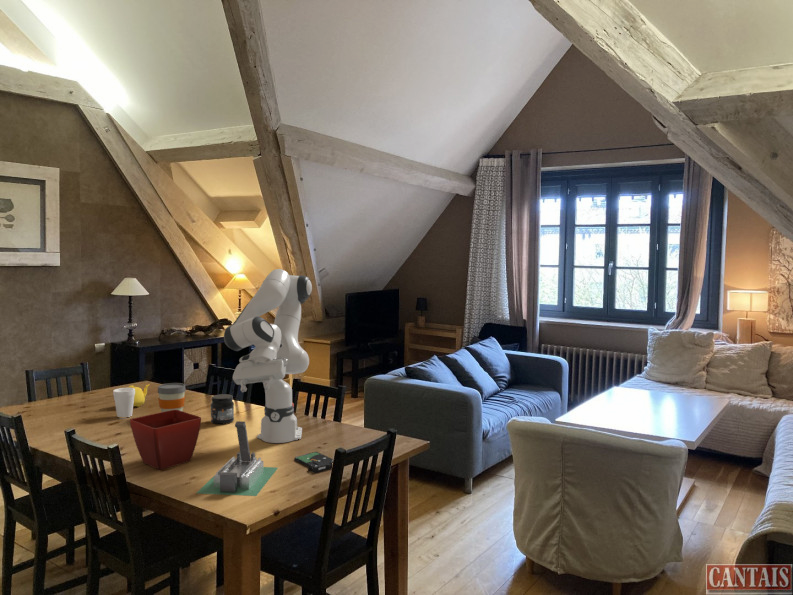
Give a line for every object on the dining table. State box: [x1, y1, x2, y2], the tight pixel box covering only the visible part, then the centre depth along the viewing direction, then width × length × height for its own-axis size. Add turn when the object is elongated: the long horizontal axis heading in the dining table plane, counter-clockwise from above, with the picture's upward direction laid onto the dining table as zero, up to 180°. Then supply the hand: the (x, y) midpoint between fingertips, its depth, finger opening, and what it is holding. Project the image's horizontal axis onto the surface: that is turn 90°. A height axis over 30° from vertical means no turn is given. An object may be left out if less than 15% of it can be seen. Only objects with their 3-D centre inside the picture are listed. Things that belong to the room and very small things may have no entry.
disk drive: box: [293, 451, 334, 474], centre depth 227 cm, size 10×3×15 cm
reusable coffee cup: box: [157, 382, 186, 413], centre depth 291 cm, size 13×13×15 cm
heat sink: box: [213, 451, 264, 493], centre depth 207 cm, size 20×12×7 cm, turn 175°
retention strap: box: [234, 420, 251, 461], centre depth 212 cm, size 17×3×2 cm
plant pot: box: [129, 410, 202, 470], centre depth 228 cm, size 19×19×17 cm
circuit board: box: [195, 466, 279, 497], centre depth 209 cm, size 26×20×1 cm
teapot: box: [128, 383, 151, 408], centre depth 309 cm, size 18×11×11 cm, turn 135°
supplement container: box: [210, 393, 235, 425], centre depth 283 cm, size 10×10×12 cm
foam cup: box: [112, 387, 135, 419], centre depth 290 cm, size 10×9×13 cm
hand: (254, 389), depth 221 cm, fingers open, 8 cm apart
